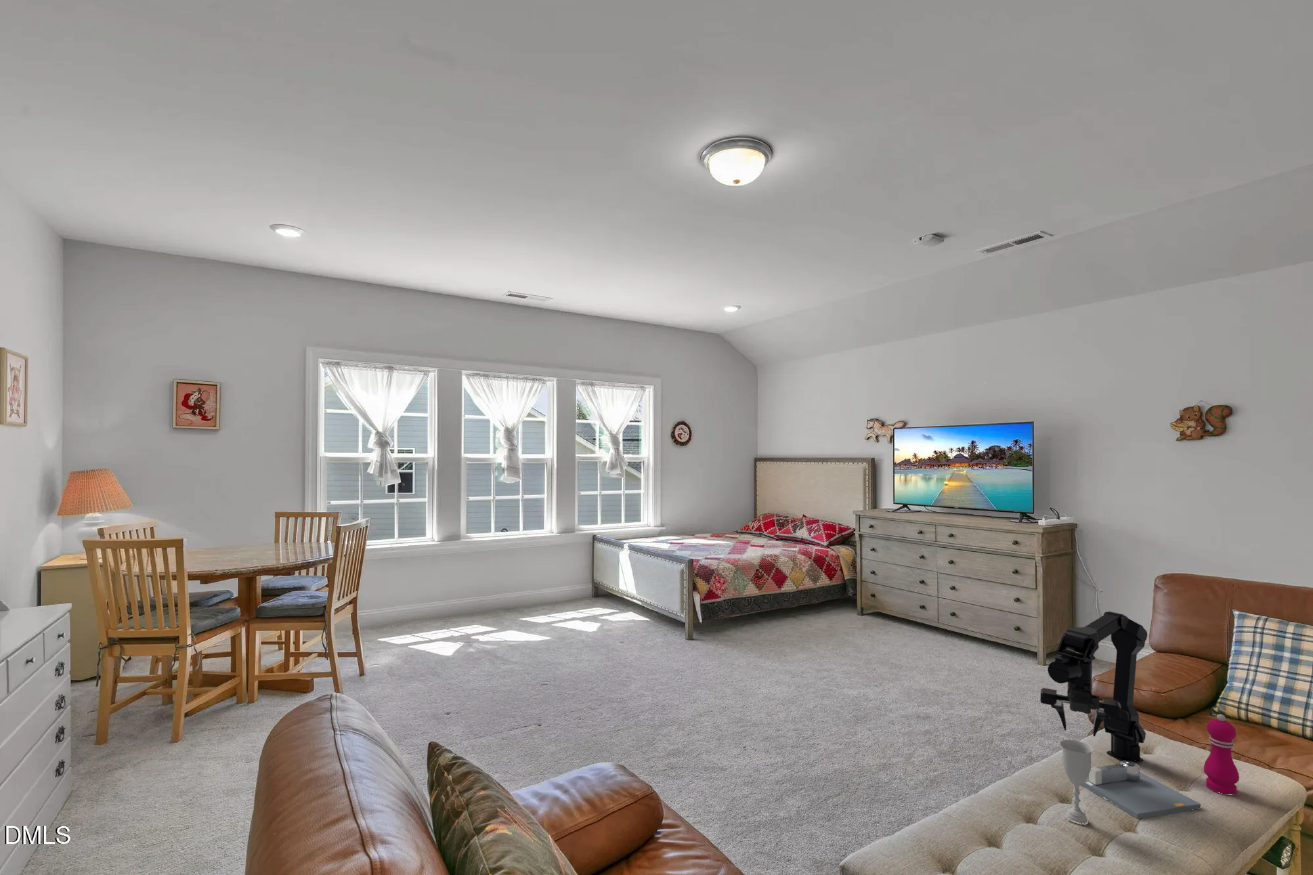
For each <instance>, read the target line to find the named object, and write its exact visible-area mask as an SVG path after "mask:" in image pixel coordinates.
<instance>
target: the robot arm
mask: <svg viewBox="0 0 1313 875" xmlns="http://www.w3.org/2000/svg"><path fill="white" fill-rule="evenodd" d="M1109 636H1110V642H1111V643H1112V645H1113V646H1114V648H1115V651H1116V653H1115V654H1116V656H1115V667H1114V668H1115V669H1114V679H1113V680H1114V681H1113V691H1112V692H1113V693H1112V694H1113V695H1112V699H1108V698H1102V701H1100V695H1094V694H1093V661H1094V660H1096V656H1094V655H1095V653H1096V652H1097V650H1099V647H1100V646H1099V643H1100V642H1101V641H1103V640H1105V639H1106V638H1108V637H1109ZM1147 638H1148V631H1147V630H1146V629H1145V628H1144V626H1143V625H1141V624H1139V623H1138V622H1136V621H1134V620H1132V619H1130V618H1129V617H1128V616H1127V615H1124V614H1123V613H1119V612H1114V611H1110V610H1109V611H1105V612H1104V613H1103V615H1101V616H1100V617H1099V618H1097V619H1095V620H1094V621H1092V622H1090V623H1089V624H1086V625H1085V626H1081V627H1078V626H1077V627H1071V628H1068V629H1066V631H1065V632H1064V633H1063V634H1062V636H1061V639H1060V642H1059V644H1058V646H1057V649H1056V652H1055V654H1056V655H1058V656H1055V657H1054V661H1051V662H1050V663H1049V664H1048V667H1047V673H1048V676H1049V677H1050V678H1051V679H1052V680H1053V682H1055V683H1057V684H1066V683H1067V691H1066V693H1067V694H1066V695H1063V694H1058V693H1057V691H1058V690H1057V689H1052V688H1051V689H1050V688H1048V687H1042V688H1041V689H1040V697H1039V698H1040V700H1039V702H1040V703H1041V704H1043V705H1049V706H1050V707H1051V708H1052V709H1055V710H1056V712H1057V714H1058V716H1059V719H1060V720H1061V721H1060V722H1061V724H1062V727H1063V730H1064V732H1065V731H1067V721H1066V720H1067V719H1066V713H1065V705H1064V703H1065V704H1068V705H1069V710H1070V711H1071V712H1075V713H1076V712H1078V713H1082V714H1083V713H1084V715H1085V714H1086V715H1089V714H1091V713H1092V710H1094V711H1095V712H1094V721H1093V726H1092V728H1093V729H1092V736H1093V737H1096V736H1097V733H1098V731H1099V728H1100V725H1101V724H1102V723H1103V728H1104V732H1105V733H1107V734H1110V750H1107V751H1106V754H1107V755H1110V756H1111V757H1113V758H1115V759H1117V760H1119V761H1132V762H1134V763H1139V762H1143V761H1144V758H1142V757H1141V746H1140V744H1144V743H1145V740H1146V737H1147V736H1146V735H1147V733H1146V731H1145V729H1144V728H1143V727H1142V725H1141V724H1140V715H1139V713H1138V711H1137V709H1136V707H1135V706H1134V695H1135V694H1134V693H1135V685H1136V684H1135V683H1136V681H1135V680H1136V671H1137V670H1136V669H1137V667H1136V666H1137V658H1138V657H1137V656H1138V654H1139V653H1140V652H1141V651H1142V650H1143V649H1144V648H1145V645H1146V640H1147Z"/></svg>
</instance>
